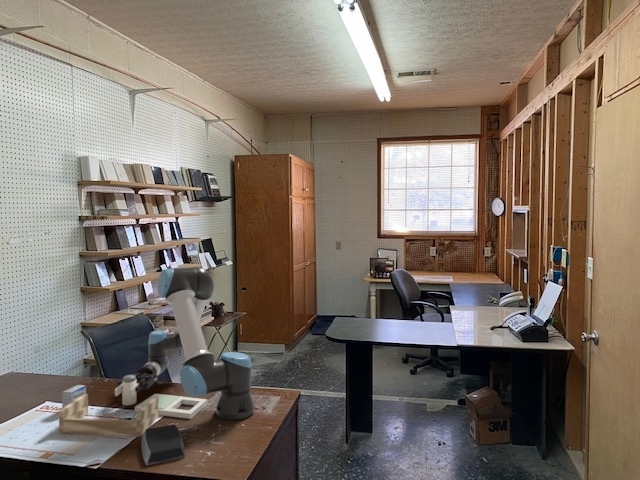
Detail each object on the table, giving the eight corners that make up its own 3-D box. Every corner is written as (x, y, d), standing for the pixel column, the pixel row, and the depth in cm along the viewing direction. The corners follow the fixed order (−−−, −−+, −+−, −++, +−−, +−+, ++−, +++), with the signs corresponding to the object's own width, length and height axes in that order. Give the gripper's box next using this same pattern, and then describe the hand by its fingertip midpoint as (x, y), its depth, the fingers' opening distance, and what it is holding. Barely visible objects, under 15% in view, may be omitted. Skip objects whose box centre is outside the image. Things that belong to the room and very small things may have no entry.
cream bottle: (139, 400, 178) (139, 375, 178) (131, 405, 173) (131, 379, 173) (127, 399, 180) (127, 374, 179) (119, 404, 174) (119, 378, 174)
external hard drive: (143, 467, 135) (143, 454, 135) (139, 439, 153) (139, 427, 153) (187, 458, 141) (187, 446, 141) (179, 432, 158) (179, 421, 158)
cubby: (84, 414, 170) (84, 393, 170) (158, 416, 169) (158, 396, 169) (59, 433, 155) (59, 411, 154) (140, 436, 154) (140, 413, 153)
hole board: (207, 404, 182) (207, 398, 182) (190, 418, 168) (190, 412, 168) (155, 398, 187) (155, 392, 187) (134, 412, 173) (134, 406, 173)
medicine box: (71, 414, 170) (71, 392, 169) (61, 413, 171) (61, 391, 170) (86, 406, 177) (86, 385, 177) (76, 405, 178) (76, 384, 178)
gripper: (168, 381, 194) (146, 403, 171) (128, 380, 195) (100, 401, 171) (168, 364, 194) (146, 384, 171) (128, 363, 194) (100, 382, 171)
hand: (123, 392), depth 171 cm, fingers closed on cream bottle, 5 cm apart
